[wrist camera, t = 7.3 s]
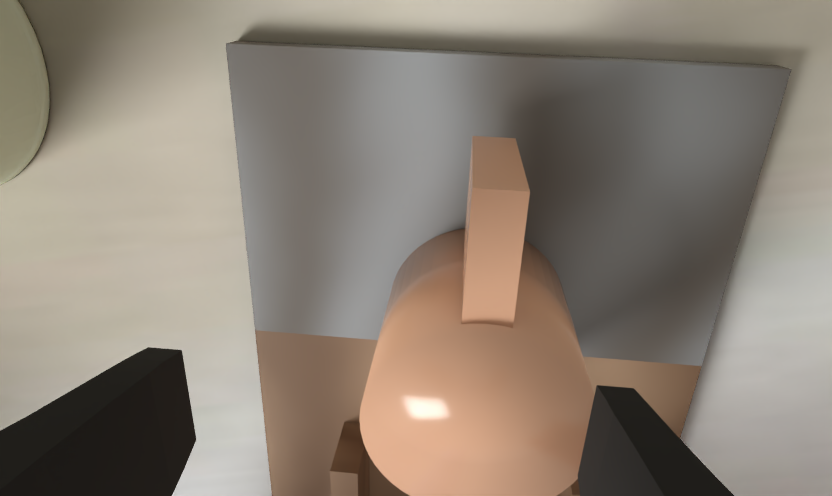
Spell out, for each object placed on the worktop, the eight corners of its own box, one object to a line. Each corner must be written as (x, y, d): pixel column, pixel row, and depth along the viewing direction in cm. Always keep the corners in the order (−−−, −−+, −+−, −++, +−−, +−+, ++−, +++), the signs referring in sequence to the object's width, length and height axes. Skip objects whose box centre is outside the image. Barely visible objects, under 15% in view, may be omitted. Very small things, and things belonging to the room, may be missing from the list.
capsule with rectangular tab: (388, 370, 21) (360, 503, 16) (393, 121, 17) (356, 184, 12) (551, 384, 21) (579, 525, 15) (594, 132, 17) (651, 202, 11)
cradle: (280, 505, 26) (255, 573, 23) (235, 41, 17) (187, 53, 14) (638, 541, 25) (661, 617, 22) (777, 65, 16) (844, 84, 13)
